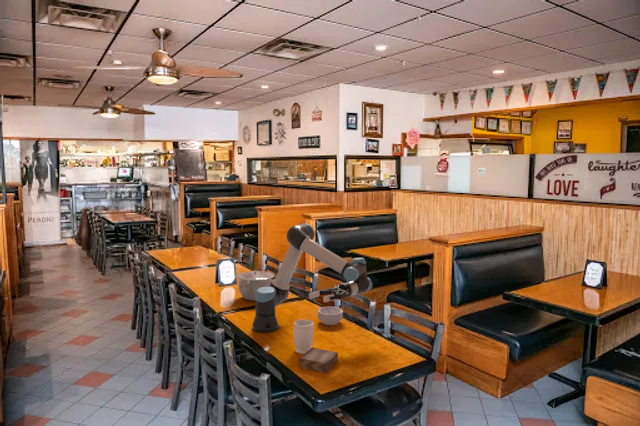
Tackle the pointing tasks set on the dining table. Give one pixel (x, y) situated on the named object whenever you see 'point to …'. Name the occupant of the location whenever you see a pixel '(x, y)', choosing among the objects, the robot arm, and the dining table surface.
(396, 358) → the dining table surface
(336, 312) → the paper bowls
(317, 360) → the walnut block
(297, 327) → the jar
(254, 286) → the chamber pot
